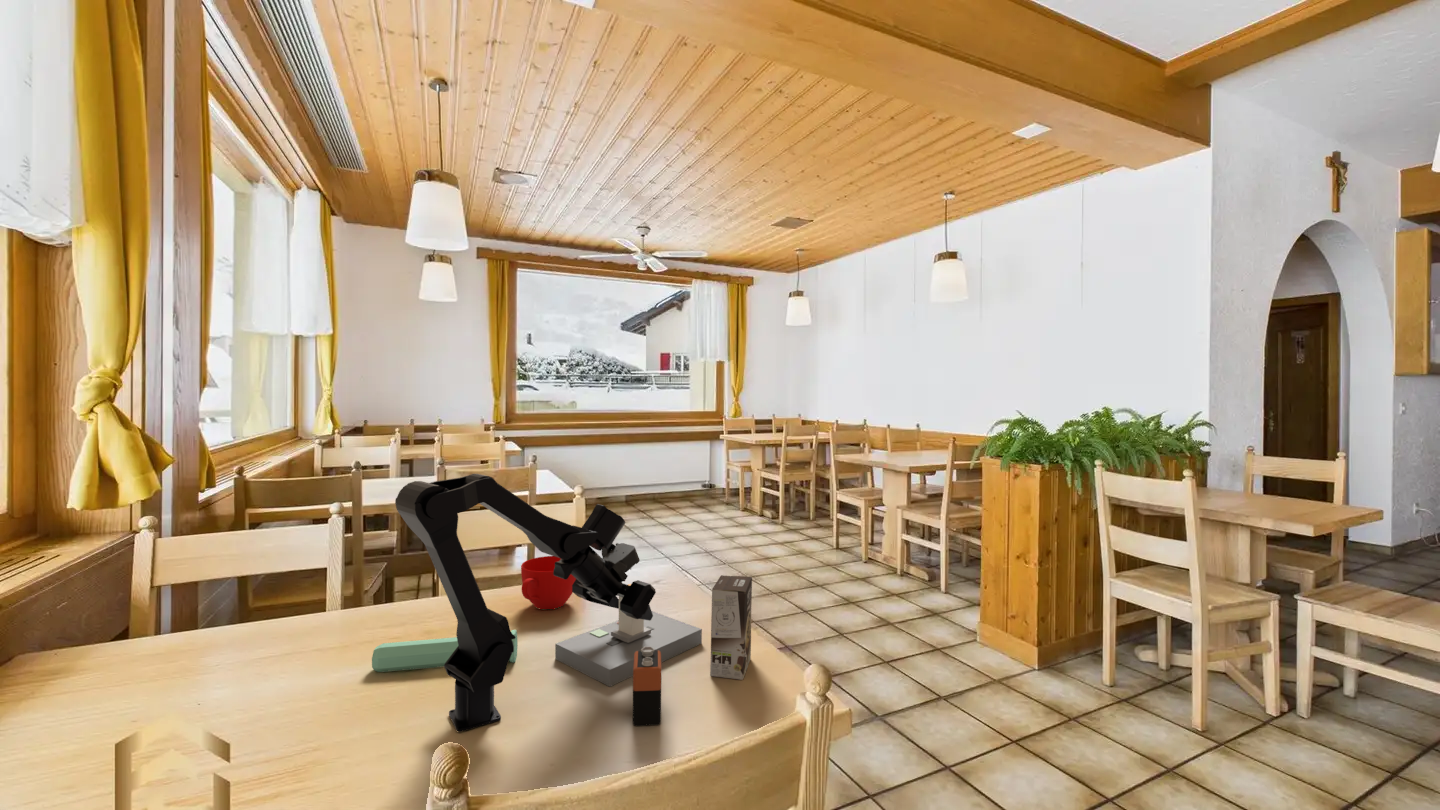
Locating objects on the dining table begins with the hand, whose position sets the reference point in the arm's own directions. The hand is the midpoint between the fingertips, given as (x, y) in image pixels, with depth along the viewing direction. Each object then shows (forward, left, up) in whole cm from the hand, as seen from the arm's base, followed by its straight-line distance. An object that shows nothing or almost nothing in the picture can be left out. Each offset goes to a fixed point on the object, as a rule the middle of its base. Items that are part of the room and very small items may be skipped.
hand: (635, 612), depth 122 cm
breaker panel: (0, +1, -7) cm, 8 cm away
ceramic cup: (+31, +7, -8) cm, 33 cm away
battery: (-23, +9, -8) cm, 26 cm away
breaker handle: (0, +1, -4) cm, 4 cm away
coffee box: (-17, -12, -8) cm, 22 cm away
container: (+13, +32, -8) cm, 36 cm away
